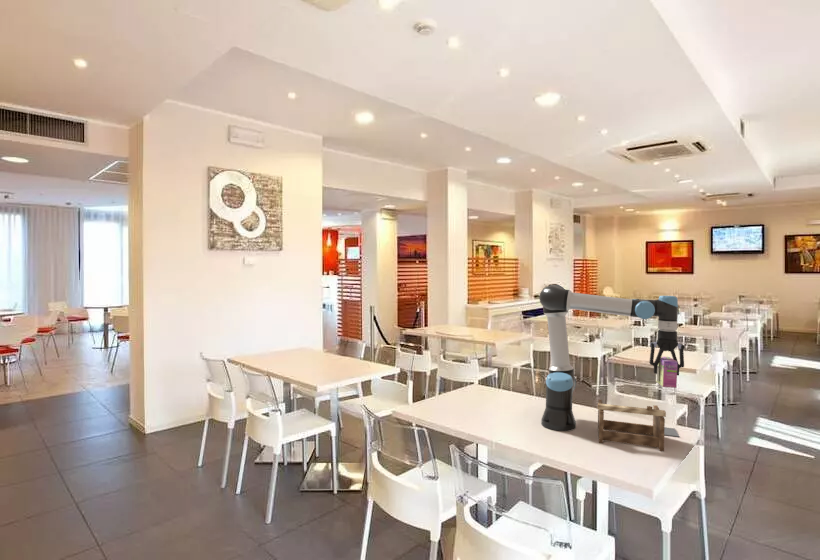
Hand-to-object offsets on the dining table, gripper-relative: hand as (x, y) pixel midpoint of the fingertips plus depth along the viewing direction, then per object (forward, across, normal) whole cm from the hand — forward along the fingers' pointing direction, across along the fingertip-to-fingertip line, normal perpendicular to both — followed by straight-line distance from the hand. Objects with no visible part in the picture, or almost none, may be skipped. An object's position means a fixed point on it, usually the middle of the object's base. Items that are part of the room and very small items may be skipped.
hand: (665, 381), depth 210 cm
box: (+2, 0, 0) cm, 2 cm away
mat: (+23, 0, 0) cm, 23 cm away
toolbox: (+23, -16, -16) cm, 32 cm away
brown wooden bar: (+9, -16, -22) cm, 29 cm away
